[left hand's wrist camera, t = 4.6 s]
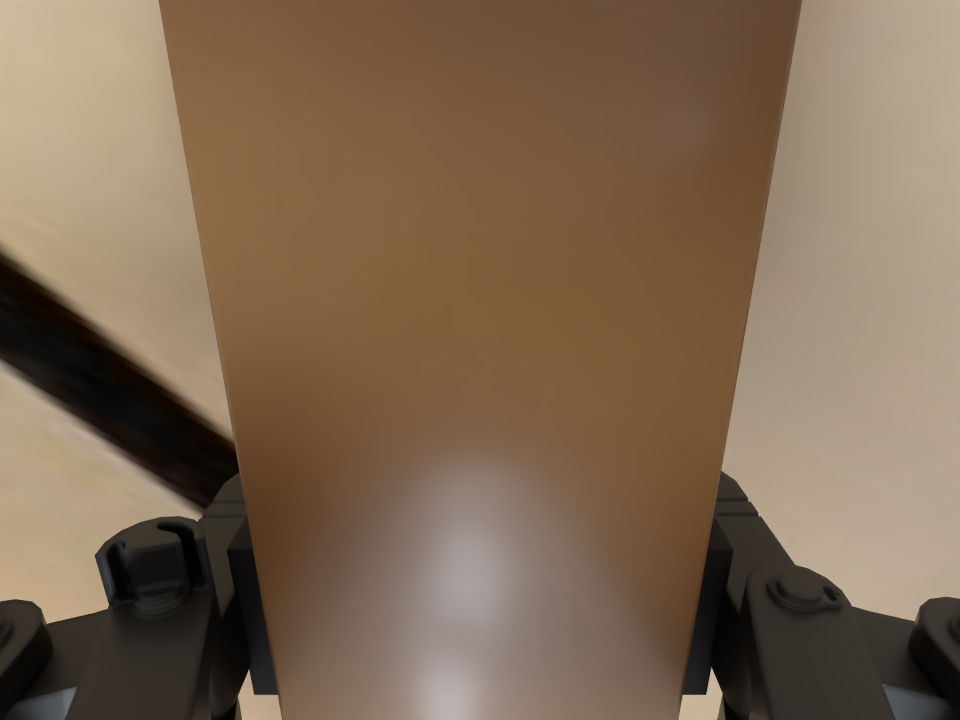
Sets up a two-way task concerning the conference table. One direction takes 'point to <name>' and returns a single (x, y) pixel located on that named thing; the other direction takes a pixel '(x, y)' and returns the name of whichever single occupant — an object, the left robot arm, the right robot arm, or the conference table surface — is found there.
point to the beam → (480, 331)
